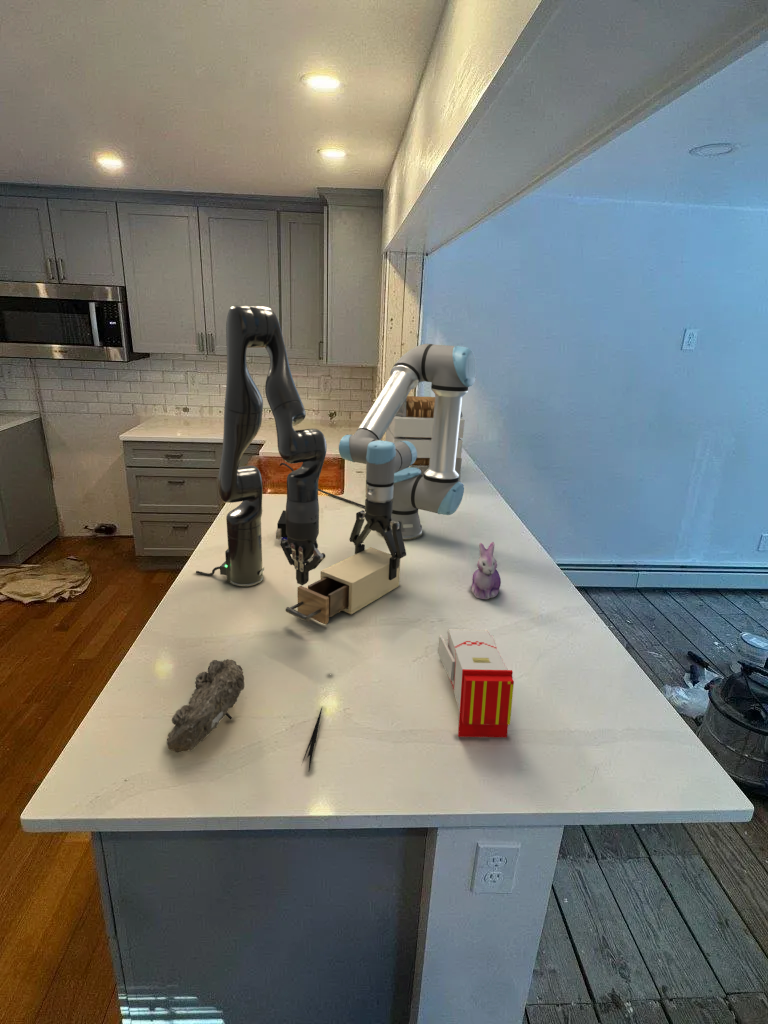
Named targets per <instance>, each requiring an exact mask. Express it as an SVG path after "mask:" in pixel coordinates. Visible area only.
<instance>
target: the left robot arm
mask: <svg viewBox="0 0 768 1024" xmlns="http://www.w3.org/2000/svg"><path fill="white" fill-rule="evenodd" d="M280 324H281V323H280V321H279V319H278V316H277V314H276V313H275V311H274V310H273V309H272V308H271V307H270V306H264V305H245V304H243V305H242V304H241V305H240V304H239V305H233V306H231V307H230V308H229V310H228V312H227V315H226V325H225V333H226V334H225V337H226V338H225V340H226V341H225V342H226V343H225V344H226V386H225V397H224V407H223V409H224V410H223V435H222V436H223V437H222V438H223V439H222V450H221V455H220V463H219V469H218V476H217V487H218V489H217V490H218V494H219V497H220V498H221V500H222V501H223V502H224V503H226V504H227V503H228V504H229V503H230V504H233V503H240V502H241V503H240V504H239V505H238V506H237V507H234V508H233V509H232V510H230V511H229V512H228V513H227V514H226V518H225V519H226V520H225V521H226V536H227V549H226V550H225V551H224V555H225V561H224V562H223V563H221V565H219V566H216V567H213V569H212V570H211V572H210V573H209V572H208V573H207V572H203V571H199V570H196V571H195V574H198V575H201V576H206V577H211V576H214V575H215V572H216V571H217V570H219V574H220V576H226V582H227V583H230V584H232V585H233V586H235V587H242V588H243V587H244V588H245V587H253V586H256V585H259V584H260V583H262V582H263V580H264V571H265V566H263V543H262V539H263V537H262V516H263V493H264V491H263V488H264V487H263V478H262V474H261V471H260V470H259V468H258V467H257V466H255V465H251V464H250V465H242V466H240V462H241V459H242V457H243V455H244V453H245V452H246V450H247V449H248V448H249V446H250V445H251V443H252V442H253V441H254V440H255V438H256V436H257V435H258V433H259V432H260V430H261V428H262V427H261V426H262V421H263V410H264V399H263V396H262V394H261V392H260V390H259V388H258V385H257V384H256V383H255V381H254V379H253V377H252V376H251V373H250V371H249V369H248V364H247V363H248V362H247V350H248V348H249V349H252V348H253V349H254V348H255V349H257V348H262V349H263V348H264V349H265V350H266V353H267V354H268V357H269V367H268V372H267V375H266V379H265V385H264V386H265V387H264V389H265V390H264V393H265V397H266V401H267V404H268V405H269V408H270V411H271V414H272V416H273V418H274V421H275V430H276V441H277V442H276V443H277V450H278V454H279V456H280V457H281V459H282V460H283V461H285V462H286V464H289V465H290V464H291V465H293V464H300V463H301V465H300V467H299V468H297V469H295V470H294V471H293V472H292V471H291V472H290V473H288V474H287V476H286V503H285V511H286V535H287V536H288V537H287V540H284V541H283V542H281V541H280V543H279V545H280V548H281V550H282V552H283V553H284V556H285V557H286V559H287V562H288V563H289V565H290V566H294V570H295V580H296V583H297V585H299V586H304V585H307V584H308V583H309V580H310V579H309V577H310V575H309V574H310V571H313V570H315V569H316V568H317V567H318V566H319V565H320V564H321V563H322V562H323V561H324V559H325V558H326V554H325V552H320V550H319V549H318V548H319V544H318V541H317V539H318V536H319V534H320V502H319V491H318V489H319V479H320V476H321V473H322V469H323V466H324V462H325V459H326V455H327V449H328V444H327V440H326V437H325V435H324V433H323V432H322V431H321V430H320V429H317V428H306V429H297V430H296V429H294V427H295V426H297V425H299V424H301V423H302V422H303V421H304V420H305V419H306V415H307V413H306V409H305V406H304V403H303V402H302V399H301V396H300V394H299V391H298V389H297V387H296V384H295V382H294V378H293V375H292V370H291V368H290V363H289V358H288V353H287V349H286V345H285V341H284V338H283V333H282V332H283V331H282V329H281V325H280Z"/></svg>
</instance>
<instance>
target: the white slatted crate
mask: <svg viewBox="0 0 768 1024" xmlns="http://www.w3.org/2000/svg"><path fill="white" fill-rule="evenodd" d="M434 405H435V396H415V395H414V396H413V395H412V396H411V395H408V396H407V397H406V399H405V401H404V402H403V404H402V406H401V407H400V409H399V411H398V412H397V414H396V416H395V417H394V419H393V421H392V422H391V424H390V426H389V427H388V429H387V430H386V432H385V438H384V441H389V442H395V443H397V442H399V441H408V442H411V443H412V444H413V445H414V446H415V448H416V451H417V458H416V461H415V462H414V463H413V464H412V465H410V466H409V467H417V466H418V467H429V462H430V451H431V439H432V428H433V416H434ZM464 429H465V419H464V418H463V411H461V416H460V425H459V435H458V445H457V455H456V465H455V471H456V472H457V473H458V474H459V482H461V472H462V461H463V460H462V453H463V442H464V441H463V440H462V439H463V438H464V431H465V430H464Z"/></svg>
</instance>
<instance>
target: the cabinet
mask: <svg viewBox="0 0 768 1024" xmlns="http://www.w3.org/2000/svg"><path fill="white" fill-rule="evenodd" d="M391 557H392V555H391V553H390V552H386V551H383V550H379V549H377V548H374V547H368V548H365V550H364V551H362V552H359V553H357V554H355V553H354V554H353V555H351V556H348V557H347V558H345V559H343V560H341V561H338V562H336V563H334V564H332V565H330V566H328V567H326V568H324V569H321V570H320V580H321V579H323V578H325V577H329V578H331V579H334V580H336V581H338V582H341V583H343V584H346V585H348V586H349V606H348V607H347V608H345V609H344V610H342V611H341V612H345V613H347V614H349V615H353V614H355V613H357V612H359V611H360V610H361V609H363V608H365V607H366V606H368V605H370V604H372V603H373V602H375V601H376V600H378V599H380V598H381V597H383V596H385V595H387V594H388V593H390V592H392V591H394V590H395V589H397V588H398V587H400V574H401V559H402V558H401V559H400V561H399V568H397V576H396V578H394V579H392V580H389V561H390V558H391Z"/></svg>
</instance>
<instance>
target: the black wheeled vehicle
mask: <svg viewBox="0 0 768 1024" xmlns="http://www.w3.org/2000/svg"><path fill="white" fill-rule="evenodd" d="M287 537H288V536H287V535H286V509H284V510H283V509H282V512H281V514H280V517H279V518H278V521H277V526H276V532H275V539H276V540H280V543H281V542H284V541H286V540H287Z"/></svg>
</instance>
